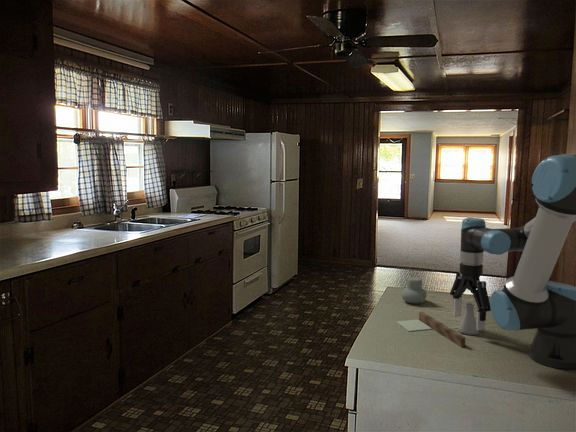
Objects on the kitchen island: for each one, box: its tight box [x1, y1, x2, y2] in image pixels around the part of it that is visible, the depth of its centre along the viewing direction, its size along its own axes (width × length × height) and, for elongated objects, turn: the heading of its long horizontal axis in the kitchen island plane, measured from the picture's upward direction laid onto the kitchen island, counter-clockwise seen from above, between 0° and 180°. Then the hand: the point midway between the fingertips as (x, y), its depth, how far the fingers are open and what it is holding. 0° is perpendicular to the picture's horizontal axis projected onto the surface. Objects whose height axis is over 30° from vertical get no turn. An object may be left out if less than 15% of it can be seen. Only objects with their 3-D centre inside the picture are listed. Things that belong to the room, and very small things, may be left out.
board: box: [395, 319, 432, 332], centre depth 179 cm, size 10×9×1 cm
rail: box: [418, 311, 466, 348], centre depth 172 cm, size 27×2×3 cm, turn 14°
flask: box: [457, 302, 480, 336], centre depth 172 cm, size 7×7×10 cm
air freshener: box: [401, 276, 427, 305], centre depth 208 cm, size 11×8×10 cm
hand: (468, 322), depth 173 cm, fingers open, 13 cm apart
